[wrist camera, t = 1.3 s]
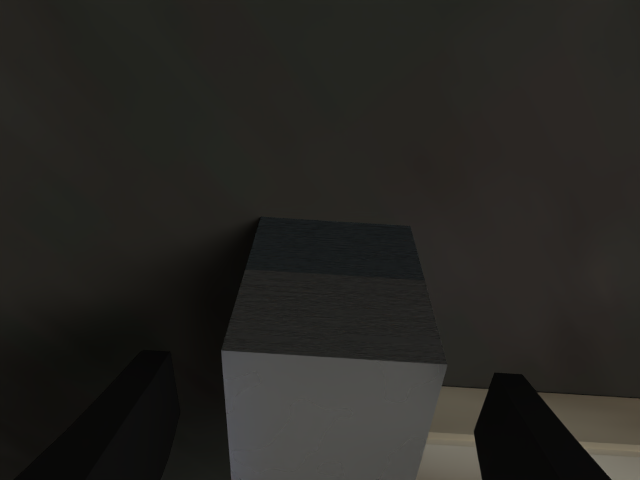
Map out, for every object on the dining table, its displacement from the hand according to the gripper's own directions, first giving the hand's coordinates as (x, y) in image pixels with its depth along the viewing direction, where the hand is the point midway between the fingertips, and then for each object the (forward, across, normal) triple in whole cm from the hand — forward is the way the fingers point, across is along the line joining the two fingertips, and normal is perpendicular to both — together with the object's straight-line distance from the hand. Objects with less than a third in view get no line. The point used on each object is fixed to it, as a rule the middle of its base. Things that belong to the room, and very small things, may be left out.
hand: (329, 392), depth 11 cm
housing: (+4, 0, 0) cm, 4 cm away
